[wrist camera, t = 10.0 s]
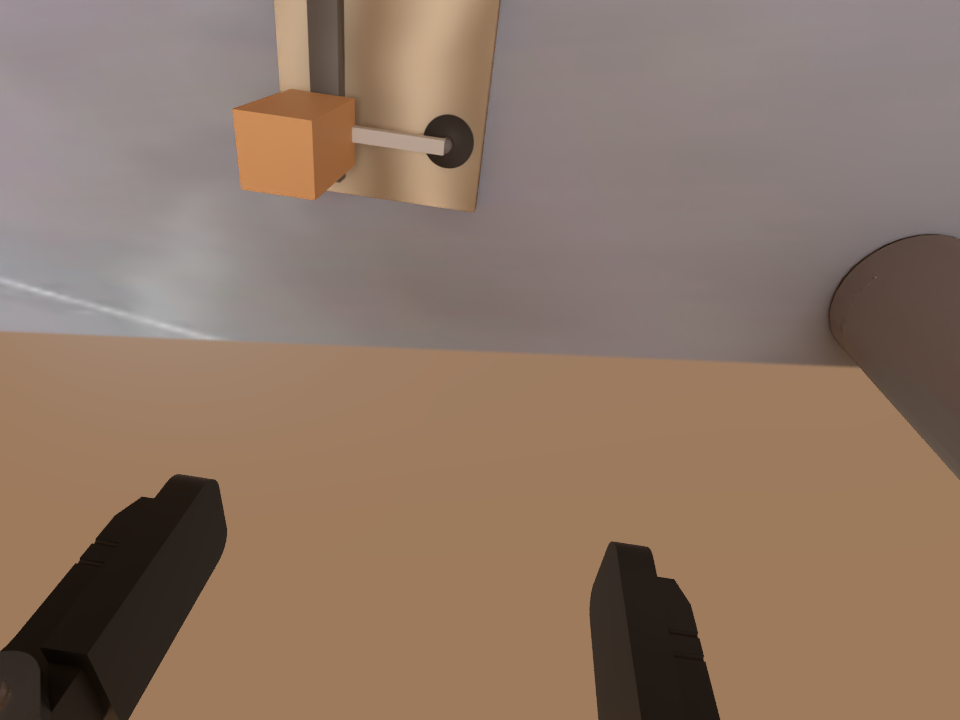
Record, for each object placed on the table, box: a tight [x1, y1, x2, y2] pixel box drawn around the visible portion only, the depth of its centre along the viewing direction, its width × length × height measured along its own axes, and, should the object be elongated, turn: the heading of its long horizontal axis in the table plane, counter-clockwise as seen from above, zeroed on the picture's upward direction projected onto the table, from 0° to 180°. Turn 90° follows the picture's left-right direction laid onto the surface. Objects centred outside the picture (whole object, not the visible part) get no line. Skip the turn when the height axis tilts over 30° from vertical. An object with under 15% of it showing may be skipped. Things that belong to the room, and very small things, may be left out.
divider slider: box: [232, 89, 453, 200], centre depth 29 cm, size 9×4×8 cm, turn 83°
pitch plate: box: [274, 0, 501, 212], centre depth 27 cm, size 12×20×10 cm, turn 173°
